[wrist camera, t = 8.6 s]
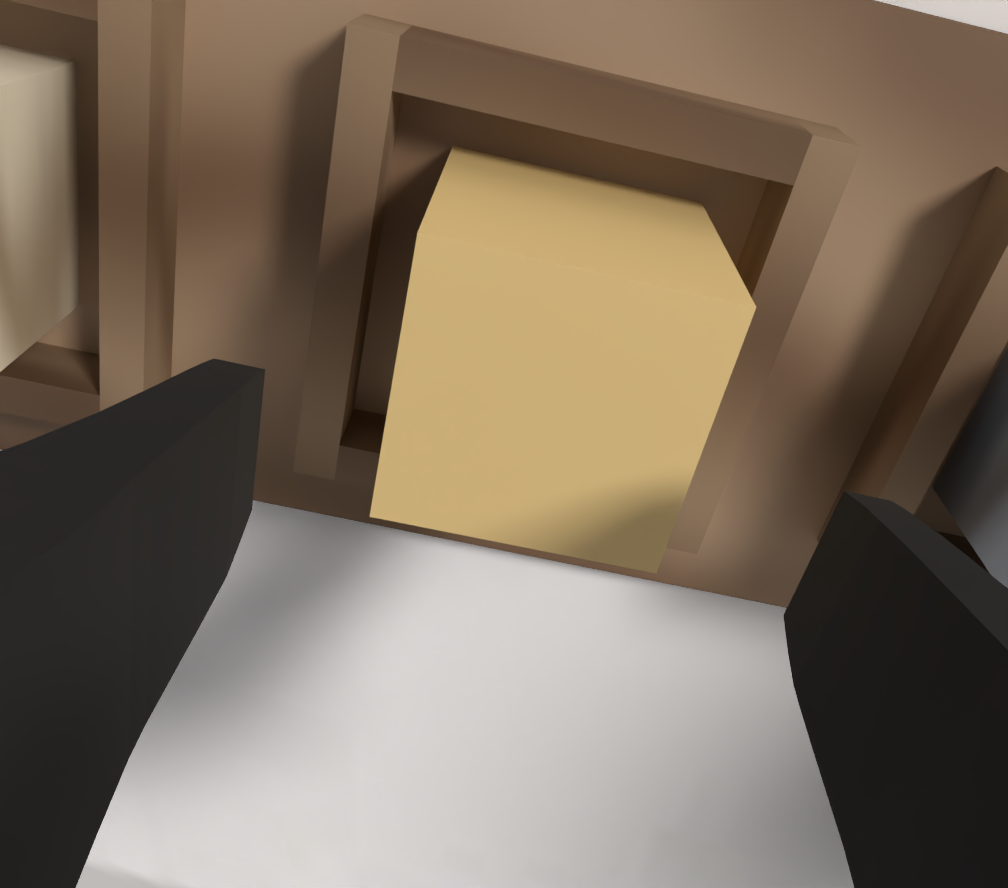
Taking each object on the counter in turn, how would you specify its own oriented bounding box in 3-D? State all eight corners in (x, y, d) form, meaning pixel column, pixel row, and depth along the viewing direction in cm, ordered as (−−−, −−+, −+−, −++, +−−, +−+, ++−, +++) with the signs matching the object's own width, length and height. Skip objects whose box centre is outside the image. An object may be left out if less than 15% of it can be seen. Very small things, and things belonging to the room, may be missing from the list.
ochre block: (630, 419, 19) (656, 573, 14) (411, 373, 18) (370, 516, 14) (701, 202, 16) (756, 306, 12) (452, 146, 16) (417, 232, 12)
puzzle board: (1150, 655, 22) (1332, 880, 17) (-257, 368, 20) (-540, 529, 15) (1528, 165, 16) (1981, 283, 11) (-411, -325, 14) (-973, -462, 9)
